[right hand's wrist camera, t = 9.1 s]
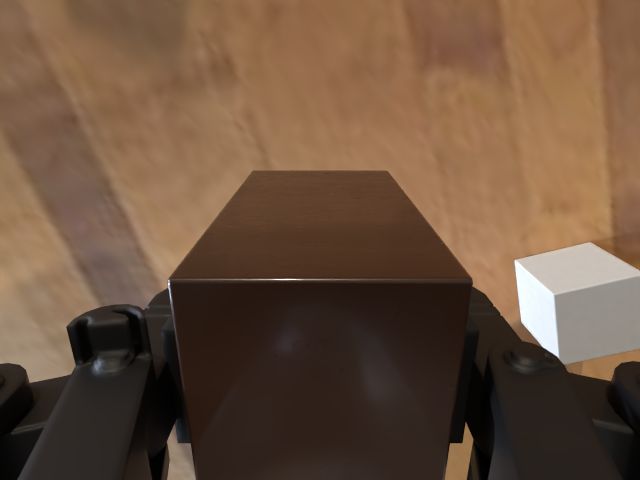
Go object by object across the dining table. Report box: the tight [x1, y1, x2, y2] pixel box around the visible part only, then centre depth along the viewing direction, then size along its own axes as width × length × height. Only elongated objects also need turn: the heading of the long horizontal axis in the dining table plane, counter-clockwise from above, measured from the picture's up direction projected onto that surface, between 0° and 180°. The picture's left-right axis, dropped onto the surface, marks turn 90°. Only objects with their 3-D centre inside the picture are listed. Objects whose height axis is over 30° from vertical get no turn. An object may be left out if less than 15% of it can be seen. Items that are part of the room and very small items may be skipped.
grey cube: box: [515, 242, 640, 365], centre depth 26 cm, size 5×5×5 cm
